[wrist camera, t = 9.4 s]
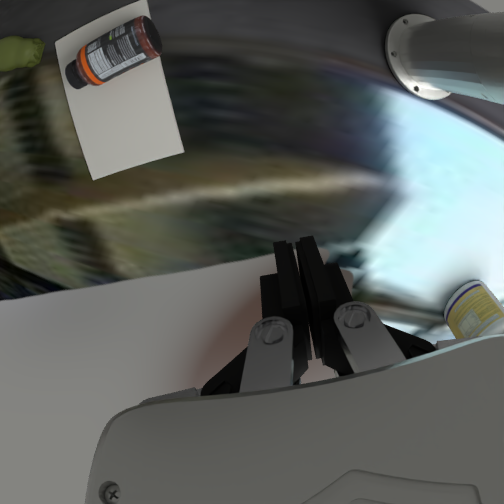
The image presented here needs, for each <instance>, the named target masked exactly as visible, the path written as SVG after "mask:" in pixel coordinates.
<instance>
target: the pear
mask: <svg viewBox="0 0 504 504" xmlns="http://www.w3.org/2000/svg"><path fill="white" fill-rule="evenodd" d="M44 46H45V43H44V42H43V41H41V39H39V38H35V39H31V38H22V37H20V36H8V37H5V38H3V39H1V40H0V71H2V72H5V71H10V70H13V69H15V68H22V67H33V66H35V65H36V64H39V62H40V61H41V57H42V53H43V50H44Z"/></svg>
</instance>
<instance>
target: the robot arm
mask: <svg viewBox="0 0 504 504" xmlns="http://www.w3.org/2000/svg"><path fill="white" fill-rule="evenodd" d="M403 22H404V23H403ZM385 52H386V58H387V61H388V65H389V67H390V69H391V71H392V73H393V75H394V76H395V78H396V79H397V81H398V82H399V83H400V84H401V85H402V86H403V87H404V88H405V89H406V90H408V91H409V92H410V93H412V94H414V95H415V96H418V97H421V98H424V99H429V100H438V99H443V98H445V97H447V96H449V95H450V94H451V93H457V94H462V95H467V96H471V97H476V98H480V99H484V100H488V101H492V102H496V103H500V104H503V105H504V12H497V13H485V14H475V15H466V16H459V17H452V18H446V19H440V20H435V19H433V18H430V17H428V16H425V15H421V14H409V15H405V16H402V17H400V18H398V19H397V20H395V21H394V22H393V24H392V25H391V26H390V28H389V30H388V32H387V35H386V39H385ZM391 53H392V55H391ZM295 243H296V251H297V258H298V265H299V271H298V267H297V263H296V259H295V255H294V251H293V247H292V243H288V244H287V243H286V240H285V241H279V242H274V243H273V246H274V252H275V259H276V265H277V273H275V274H270V275H264V276H260V286H261V301H262V317H263V319H262V320H260V321H259V322H257V323H256V324H255V325H254V326H253V328H252V330H251V333H250V338H249V343H248V347H247V348H245V349H244V350H243V351H242V352H241V353H240V354H239V355H237V356H236V357H235V358H234V359H233V360H232V361H231V362H230V363H228V364H227V365H226V366H225V367H224V368H223V369H222V370H220V371H219V372H218V373H217V374H216V375H215V376H214V377H212V378H211V379H210V380H209V381H208V382H207V383H206V384H205V385H204V386H203V388H201V389H197V390H196V388H190V389H186V390H182V391H178V392H174V393H170V394H165V395H162V396H157V397H152V398H148V399H146V400H143V401H142V402H141V403H140V404H139V405H136V406H133V407H131V408H128V409H125V410H123V411H122V412H120V413H118V414H116V415H115V416H114V417H112V418H111V419H110V420H109V422H108V423H107V424H106V426H105V428H104V430H103V432H102V434H101V436H100V439H99V442H98V444H97V448H96V451H95V454H94V458H93V462H92V466H91V470H90V475H89V480H88V486H87V492H86V499H85V504H504V334H495V335H488V336H475V337H468V338H461V339H452V340H443V341H437V343H436V344H433V345H432V344H431V343H430V342H428V341H426V340H424V339H421V338H419V337H416V336H414V335H411V334H408V333H406V332H403V331H401V330H398V329H395V328H393V327H390V326H388V325H385V324H383V323H382V322H381V320H380V319H379V317H378V316H377V314H376V313H375V311H374V310H373V309H372V308H371V307H370V306H369V305H367V304H365V303H362V302H354V301H353V299H352V296H351V294H350V292H349V289H348V287H347V284H346V282H345V280H344V278H343V275H342V273H341V270H340V268H339V266H338V264H337V263H330V264H325V265H324V264H323V261H322V258H321V256H320V253H319V250H318V248H317V245H316V242H315V240H314V237H313V236H307V237H302V238H300V241H299V242H295ZM299 272H300V275H299ZM308 322H309V323H308ZM309 327H310V332H311V336H312V341H313V346H314V351H315V355H316V359H318V358H321V359H322V363H323V365H326V366H328V367H331V368H332V369H334V373H335V377H336V378H332V379H327V380H322V381H317V382H311V383H306V384H301V379H300V377H301V376H302V375H303V374H304V372H305V371H306V370H307V369H308V360H312V354H311V344H310V333H309Z"/></svg>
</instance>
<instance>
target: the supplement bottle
mask: <svg viewBox="0 0 504 504" xmlns="http://www.w3.org/2000/svg"><path fill="white" fill-rule="evenodd" d="M161 53H162V44H161V40H160V36H159V34H158V32H157V30H156V28H155V26H154V24H153V22H152V21H151V20H150V18H148V17H147V16H144V15H142V16H139V17H137V18H134V19H132V20H130V21H128V22H126V23H124V24H122V25H120V26H118V27H116V28H114V29H112V30H111V31H109V32H107V33H105V34H103V35H101V36H100V37H98V38H96V39H95V40H93V41H91V42H90V43H88V44H86V45H85V46H83V47H82V48H81V49H80V50H79V51H78V53H77V56H76V59H75V60H73V61H72V62H70V63H69V64H68V65H67V66H66V68H65V75H66V79H67V81H68V83H69V84H70V85H71V86H72V87H73V88H74V89H81V88H83V87H85V86H87V85H88V84H89V85H92V86H99V85H102V84H103V83H105V82H107V81H109V80H111V79H113V78H115V77H117V76H119V75H121V74H123V73H125V72H127V71H129V70H131V69H133V68H135V67H137V66H139V65H141V64H144V63H146V62H148V61H150V60H153V59H154V58H157V57H159V56H160V55H161Z"/></svg>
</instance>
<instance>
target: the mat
mask: <svg viewBox="0 0 504 504" xmlns="http://www.w3.org/2000/svg"><path fill="white" fill-rule="evenodd" d="M142 15H144V16H147V17H148V18H150V20H151V17H150V13H149V8H148V3H147V0H140V1H137V2H135V3H132V4H130V5H127V6H125V7H122V8H120V9H118V10H116V11H113V12H111V13H109V14H107V15H105V16H102V17H100V18H98V19H96V20H94V21H92V22H90V23H88V24H86V25H84V26H83V27H81V28H79V29H77V30H75V31H73V32H72V33H70V34H68V35H66V36H65V37H63V38H61V39H60V40H58V41H56V42H55V46H56V51H57V56H58V61H59V66H60V71H61V75H62V80H63V84H64V88H65V92H66V96H67V100H68V103H69V107H70V111H71V114H72V118H73V121H74V125H75V128H76V131H77V135H78V138H79V141H80V144H81V147H82V150H83V153H84V156H85V159H86V162H87V165H88V168H89V171H90V174H91V176H92V179H93V180H95V179H98V178H101V177H104V176H107V175H110V174H112V173H115V172H118V171H121V170H125V169H128V168H131V167H134V166H137V165H140V164H144V163H147V162H150V161H154V160H157V159H161V158H164V157H168V156H172V155H175V154H179V153H183V152H184V149H183V145H182V141H181V138H180V134H179V130H178V127H177V123H176V119H175V115H174V112H173V108H172V104H171V100H170V96H169V92H168V88H167V84H166V80H165V76H164V72H163V68H162V64H161V60H160V56H159V57H157V58H154V59H153V60H150V61H148V62H146V63H144V64H141V65H139V66H137V67H135V68H133V69H131V70H129V71H127V72H125V73H123V74H121V75H119V76H117V77H115V78H113V79H111V80H109V81H107V82H105V83H103V84H102V85H99V86H92V85H89V84H88V85H87V86H85V87H83V88H81V89H74V88H73V87H72V86H71V85H70V84H69V83H68V81H67V79H66V75H65V68H66V66H67V65H68V64H69V63H70V62H72V61H73V60H75V59H76V56H77V53H78V51H79V50H80V49H81V48H82V47H83V46H85V45H86V44H88V43H90V42H91V41H93V40H95V39H96V38H98V37H100V36H101V35H103V34H105V33H107V32H109V31H111V30H112V29H114V28H116V27H118V26H120V25H122V24H124V23H126V22H128V21H130V20H132V19H134V18H137V17H139V16H142Z"/></svg>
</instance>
